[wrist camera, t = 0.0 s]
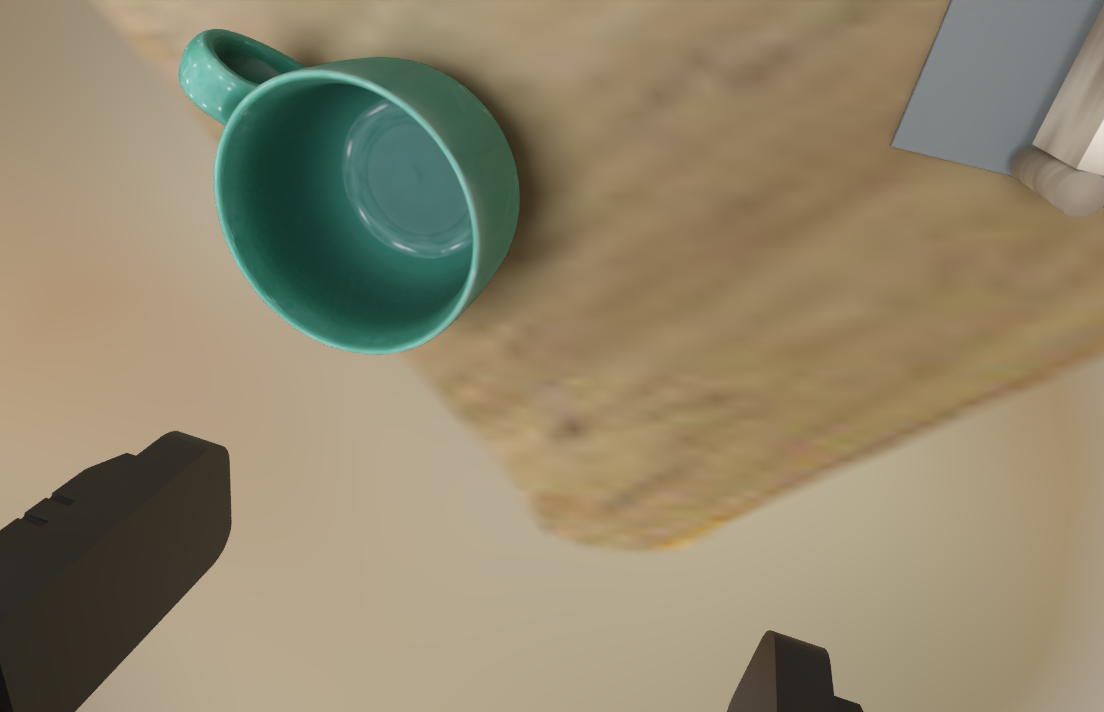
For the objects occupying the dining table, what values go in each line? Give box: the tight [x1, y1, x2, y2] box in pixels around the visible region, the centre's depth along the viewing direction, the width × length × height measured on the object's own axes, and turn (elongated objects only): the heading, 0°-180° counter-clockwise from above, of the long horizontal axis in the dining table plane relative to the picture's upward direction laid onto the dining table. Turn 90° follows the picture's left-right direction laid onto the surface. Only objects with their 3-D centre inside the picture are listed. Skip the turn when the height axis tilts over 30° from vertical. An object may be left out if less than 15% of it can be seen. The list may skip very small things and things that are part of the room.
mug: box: [179, 29, 520, 355], centre depth 35 cm, size 17×13×10 cm
